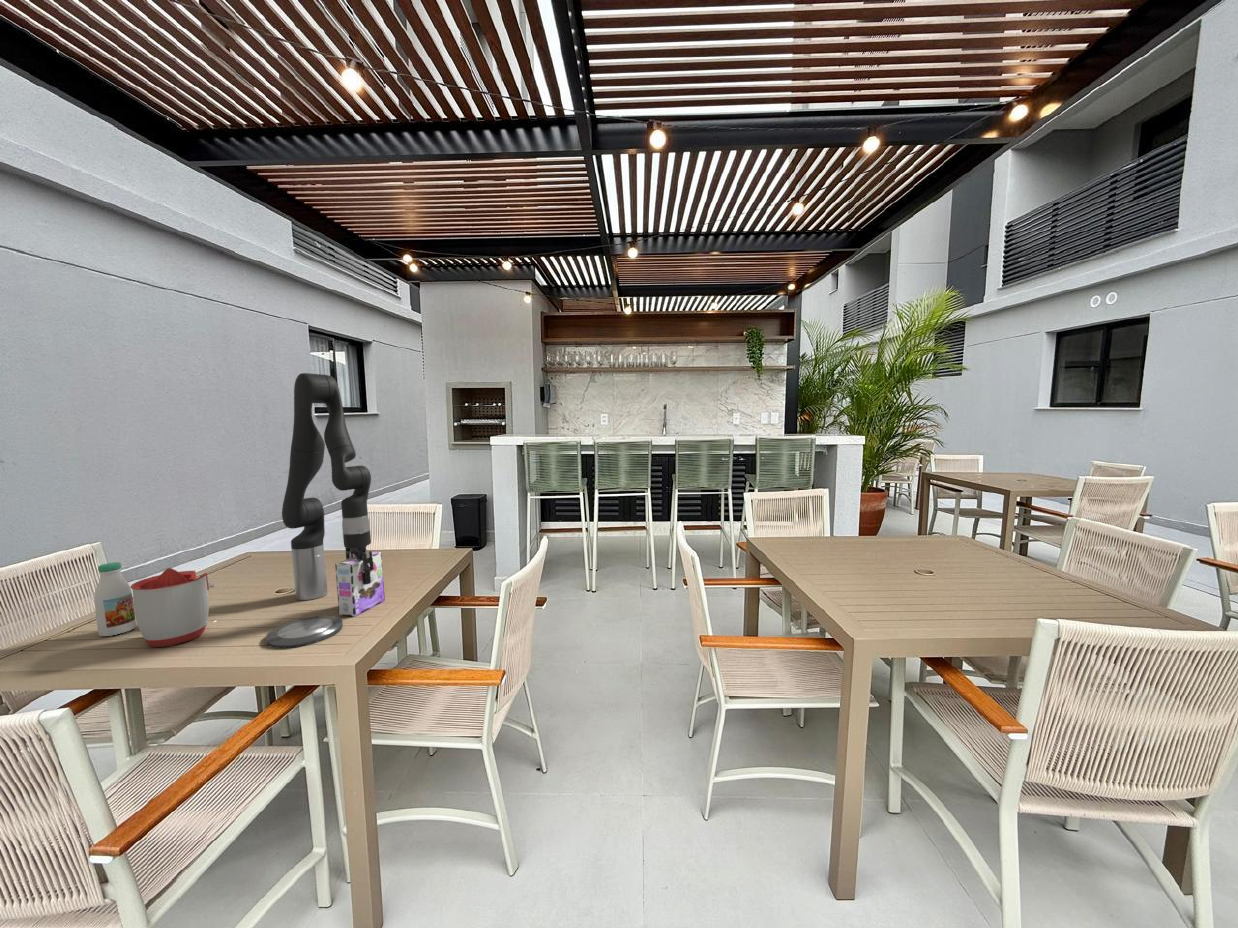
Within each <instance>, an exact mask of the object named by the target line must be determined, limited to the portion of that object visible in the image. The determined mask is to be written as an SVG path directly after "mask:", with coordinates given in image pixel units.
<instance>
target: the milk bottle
mask: <svg viewBox="0 0 1238 928" xmlns="http://www.w3.org/2000/svg"><path fill="white" fill-rule="evenodd" d="M97 571H98V575H99V581H98V583H97V585H96V588H95V590H94V595H93V600H94V611H95V619H96V626H97V632H98V636H99V637H100V636H110V637H112V636H111V635H116V636H118V635H117V634H120V633H124V632H127V631H130V630H132V629H134V628H135V627H137V621H136V616H135V608H134V599H133V591H132V589H131V585H130V584H129V582H128V581H127V580H126V579H125V577H124V575H122V572H121V571H122V564H121V562H108V563H107V562H106V563H102V564H100V565H98V566H97ZM135 629H136V628H135ZM135 629H134V630H135ZM132 631H133V630H132ZM130 632H131V631H130ZM127 633H128V632H127ZM124 634H125V633H124ZM120 635H121V634H120Z"/></svg>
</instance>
